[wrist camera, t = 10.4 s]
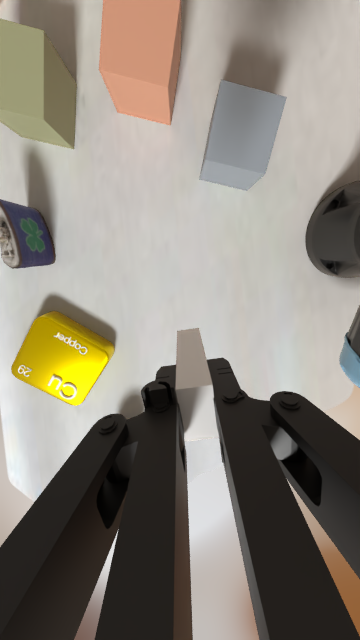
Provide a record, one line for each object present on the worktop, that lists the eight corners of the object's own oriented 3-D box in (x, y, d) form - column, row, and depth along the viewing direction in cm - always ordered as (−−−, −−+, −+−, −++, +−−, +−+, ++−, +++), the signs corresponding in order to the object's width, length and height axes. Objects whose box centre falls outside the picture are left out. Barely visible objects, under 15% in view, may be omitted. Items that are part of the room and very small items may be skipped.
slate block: (211, 120, 32) (221, 79, 25) (261, 132, 33) (286, 97, 25) (199, 179, 35) (205, 159, 27) (246, 190, 35) (265, 174, 28)
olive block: (19, 70, 30) (-34, 9, 23) (76, 84, 31) (43, 30, 23) (21, 137, 33) (-26, 102, 25) (74, 149, 33) (43, 119, 26)
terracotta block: (123, 41, 29) (105, -32, 22) (180, 57, 30) (181, -9, 22) (117, 112, 32) (98, 69, 24) (170, 125, 32) (168, 87, 25)
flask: (25, 209, 36) (-35, 193, 26) (42, 207, 36) (-12, 190, 25) (44, 265, 39) (-4, 271, 28) (59, 263, 39) (17, 268, 28)
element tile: (118, 345, 44) (112, 356, 39) (86, 396, 48) (76, 411, 43) (51, 306, 41) (35, 313, 37) (22, 363, 45) (4, 375, 41)
